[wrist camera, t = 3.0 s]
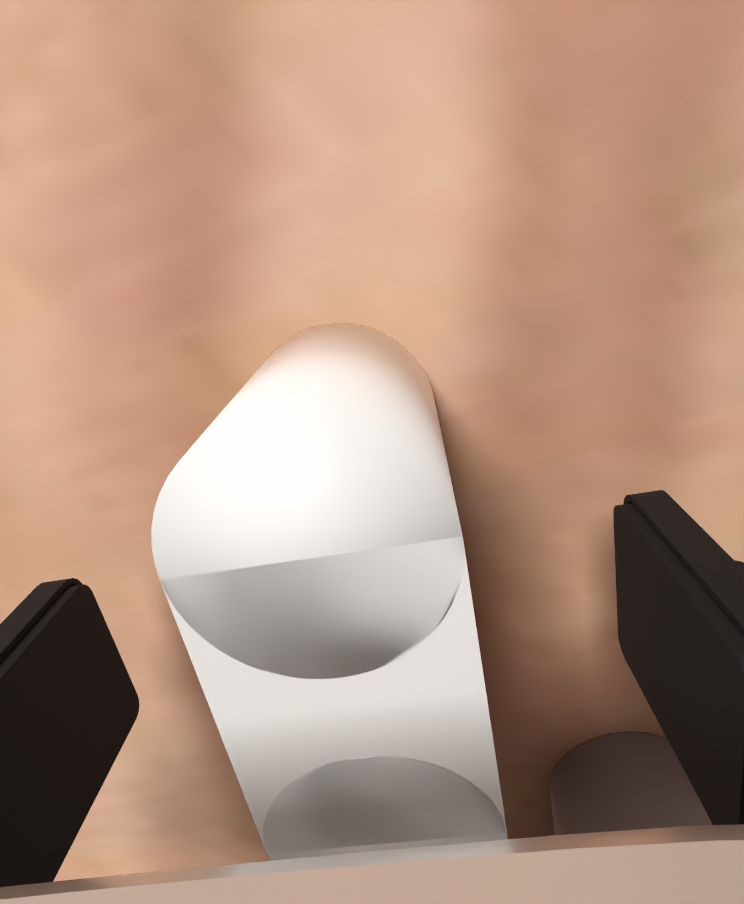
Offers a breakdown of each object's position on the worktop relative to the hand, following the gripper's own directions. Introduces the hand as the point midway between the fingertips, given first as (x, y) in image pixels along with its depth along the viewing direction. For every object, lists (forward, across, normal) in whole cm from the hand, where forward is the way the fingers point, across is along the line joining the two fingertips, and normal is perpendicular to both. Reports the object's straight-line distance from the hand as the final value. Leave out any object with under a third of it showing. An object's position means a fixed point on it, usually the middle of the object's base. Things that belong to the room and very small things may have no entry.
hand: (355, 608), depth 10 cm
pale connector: (+2, 0, 0) cm, 2 cm away
